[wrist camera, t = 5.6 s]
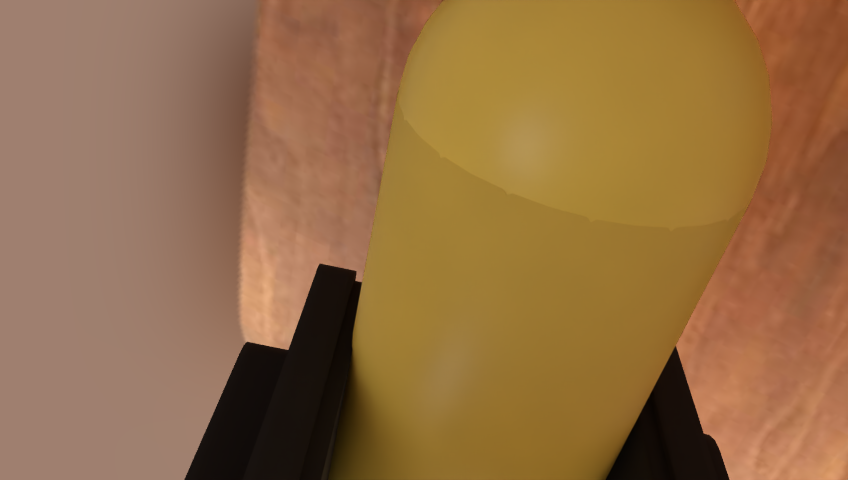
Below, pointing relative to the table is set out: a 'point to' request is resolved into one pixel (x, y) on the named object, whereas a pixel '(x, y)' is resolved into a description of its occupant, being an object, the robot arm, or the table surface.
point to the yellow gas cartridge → (545, 231)
